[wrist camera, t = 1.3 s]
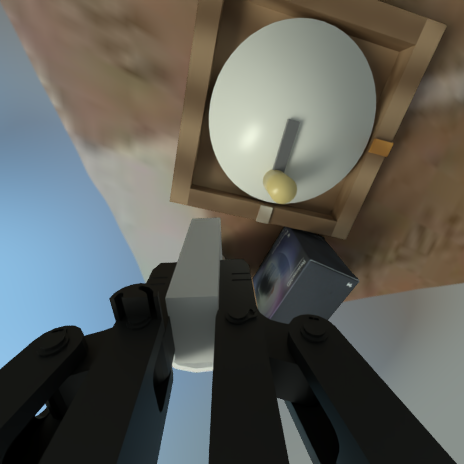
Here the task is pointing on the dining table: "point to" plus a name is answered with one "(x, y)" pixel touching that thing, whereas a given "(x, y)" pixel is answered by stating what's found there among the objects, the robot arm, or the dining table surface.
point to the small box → (301, 278)
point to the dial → (292, 110)
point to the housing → (386, 116)
